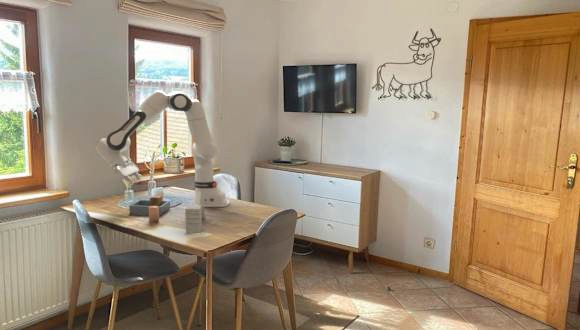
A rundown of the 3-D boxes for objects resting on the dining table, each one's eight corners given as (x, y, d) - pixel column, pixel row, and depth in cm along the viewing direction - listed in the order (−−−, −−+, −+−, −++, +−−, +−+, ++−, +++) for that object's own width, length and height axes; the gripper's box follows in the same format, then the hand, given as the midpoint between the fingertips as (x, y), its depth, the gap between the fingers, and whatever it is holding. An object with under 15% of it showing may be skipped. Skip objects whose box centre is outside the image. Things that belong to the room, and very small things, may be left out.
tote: (169, 209, 258) (169, 200, 257) (161, 215, 244) (161, 207, 243) (139, 207, 259) (139, 199, 258) (129, 214, 245) (129, 205, 244)
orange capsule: (160, 220, 235) (160, 205, 234) (156, 223, 230) (156, 208, 229) (151, 220, 236) (150, 205, 234) (147, 222, 231) (147, 207, 229)
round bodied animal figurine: (181, 220, 236) (180, 205, 234) (199, 216, 244) (199, 201, 243) (189, 223, 231) (188, 208, 230) (207, 219, 240) (207, 204, 238)
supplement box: (187, 229, 222) (186, 204, 220) (202, 229, 223) (202, 204, 221) (185, 233, 215) (184, 208, 213) (200, 233, 215) (200, 208, 213)
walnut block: (162, 209, 253) (161, 195, 252) (159, 211, 248) (158, 197, 247) (153, 209, 254) (153, 195, 252) (150, 211, 249) (149, 197, 247)
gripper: (114, 162, 237) (132, 181, 238) (130, 157, 257) (147, 174, 258) (106, 170, 238) (124, 188, 239) (123, 164, 258) (140, 181, 259)
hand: (136, 181), depth 249 cm, fingers open, 8 cm apart
